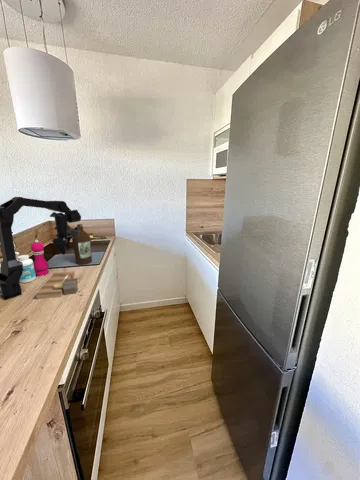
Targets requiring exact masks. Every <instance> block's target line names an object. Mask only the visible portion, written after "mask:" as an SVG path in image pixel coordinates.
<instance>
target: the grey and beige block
mask: <svg viewBox="0 0 360 480" xmlns="http://www.w3.org/2000/svg"><path fill="white" fill-rule="evenodd" d="M57 288H63V290H64V293H63V295H64V296H65V295H76V294H77V293H78V291H79V285H78V279H77V278H76V277H75V278H73V279H65V280H64V282H59V283H56V284H55V285H54V289H57Z"/></svg>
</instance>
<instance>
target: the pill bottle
mask: <svg viewBox="0 0 360 480" xmlns="http://www.w3.org/2000/svg"><path fill="white" fill-rule="evenodd" d="M16 259H17V261H20V262H22V263H23V269H24V271H23V274H22V275H21V277H20V281H19V283H20V284H26V283H32V282H34V281H35V280H36V277H37V276H36V274H35V272H36V271H35V270H34V261H33V259H32V258H30V256H29V254H22V255H18V256H16Z"/></svg>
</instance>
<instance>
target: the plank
mask: <svg viewBox="0 0 360 480" xmlns="http://www.w3.org/2000/svg"><path fill="white" fill-rule="evenodd" d="M75 276H76V275H75V271H74V270H73V271H63V272H61V271H60V272H54V273H52V275H51V276H50V277H49V278H48V279H47V281H46V282H45V283H43V285H42V286H41V287H40V288H39V289H38V291H37V292H35V298H36V300H41V299H50V298H60V297H62V296H63V295H64V290H63V288H57V289H54V285H55V284H56V283H59V282H64V280H65V279H73V278H74V277H75Z"/></svg>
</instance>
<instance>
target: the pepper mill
mask: <svg viewBox="0 0 360 480" xmlns="http://www.w3.org/2000/svg"><path fill="white" fill-rule="evenodd" d="M30 249H31V251H32V254H33V256H34V261H33V264H34V270H35V275H37V276H36V277H43V276H42V275H44V276H47V275H48V274H49V273H50V271H49V267H50V266H49V262H48V261H47V260H46V259H45V256H44V253H45V251H44V249H45V245H44V244H43V242H39V240H38V239H35V240H34V242H33V243H32V244H30ZM46 274H47V275H46Z"/></svg>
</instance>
